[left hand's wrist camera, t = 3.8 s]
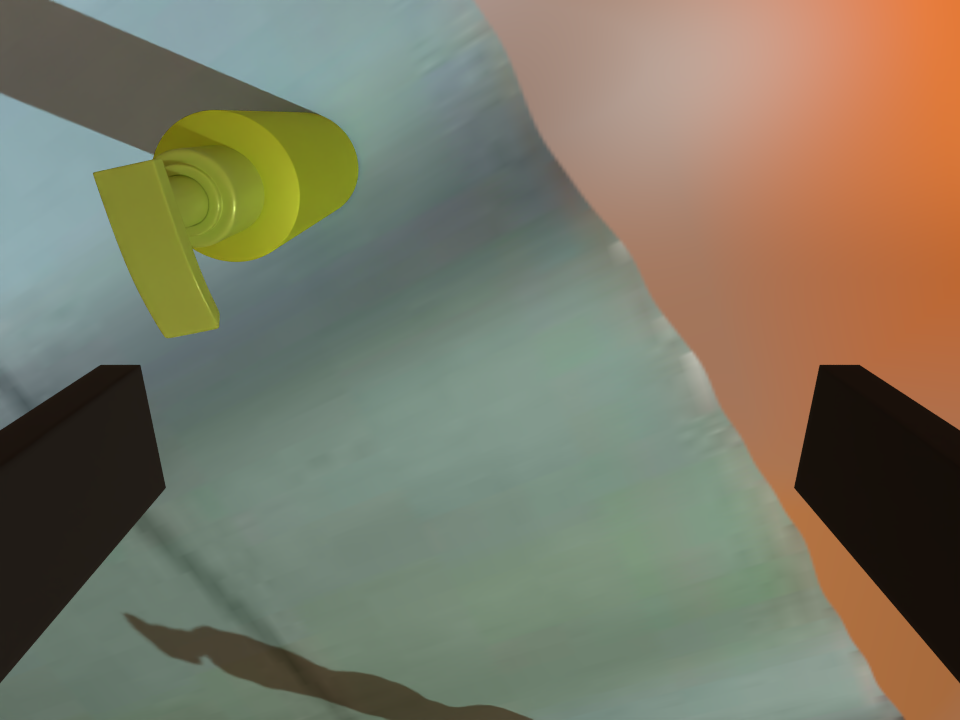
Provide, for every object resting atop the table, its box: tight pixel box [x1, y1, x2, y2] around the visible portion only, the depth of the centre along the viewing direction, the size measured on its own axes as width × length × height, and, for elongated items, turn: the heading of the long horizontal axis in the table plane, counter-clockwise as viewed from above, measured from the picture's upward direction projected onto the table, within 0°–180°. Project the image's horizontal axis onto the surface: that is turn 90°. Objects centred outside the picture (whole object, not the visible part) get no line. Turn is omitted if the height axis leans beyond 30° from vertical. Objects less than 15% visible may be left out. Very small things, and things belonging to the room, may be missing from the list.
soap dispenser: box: [93, 110, 358, 338], centre depth 28 cm, size 6×7×20 cm
